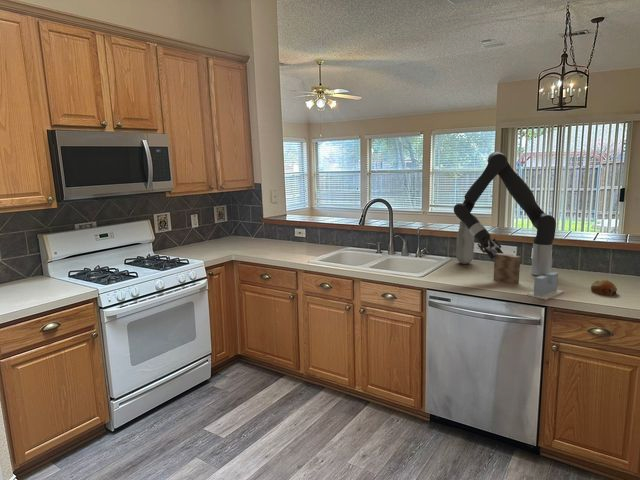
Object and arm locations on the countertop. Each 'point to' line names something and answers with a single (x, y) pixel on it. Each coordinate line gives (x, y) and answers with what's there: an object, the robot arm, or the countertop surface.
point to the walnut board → (506, 268)
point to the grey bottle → (464, 244)
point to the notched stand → (546, 286)
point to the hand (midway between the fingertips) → (497, 256)
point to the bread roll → (603, 287)
